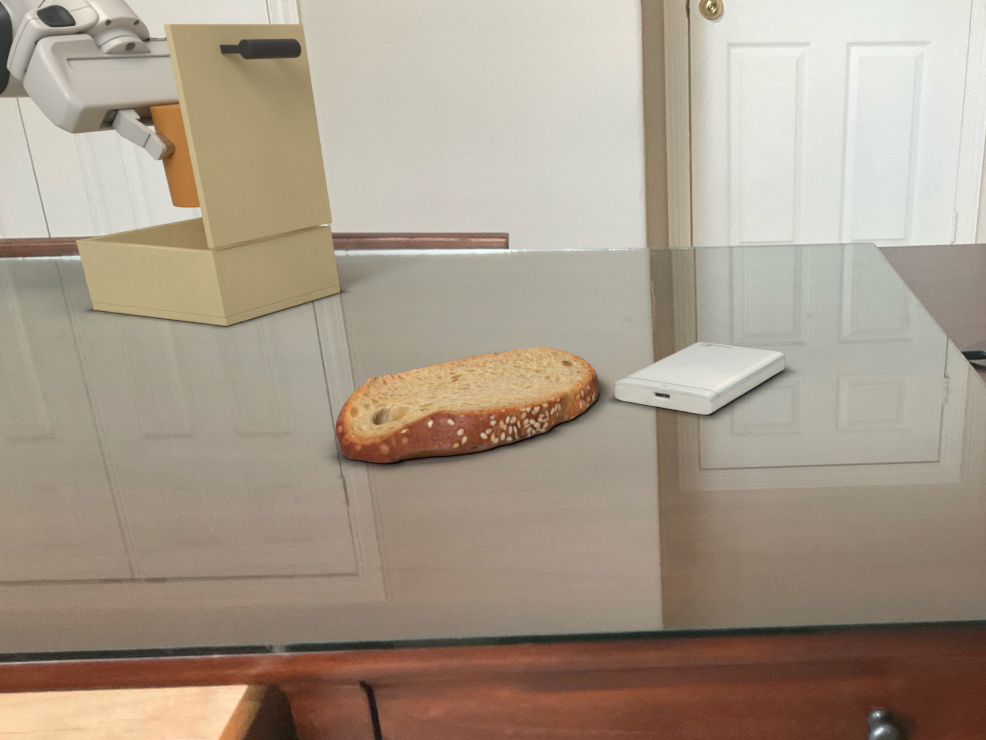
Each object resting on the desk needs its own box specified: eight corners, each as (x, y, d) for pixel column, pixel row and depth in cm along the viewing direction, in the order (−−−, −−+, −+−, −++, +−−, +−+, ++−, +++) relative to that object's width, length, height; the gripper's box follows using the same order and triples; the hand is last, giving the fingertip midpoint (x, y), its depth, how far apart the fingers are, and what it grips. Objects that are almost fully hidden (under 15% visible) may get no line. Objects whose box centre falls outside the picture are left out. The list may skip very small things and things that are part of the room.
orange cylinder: (178, 209, 103) (154, 108, 99) (168, 202, 108) (145, 105, 103) (239, 203, 106) (219, 105, 102) (227, 196, 110) (207, 101, 106)
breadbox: (93, 310, 107) (75, 240, 105) (215, 279, 120) (203, 216, 118) (226, 326, 101) (211, 252, 98) (340, 292, 114) (330, 226, 111)
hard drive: (696, 340, 90) (613, 378, 80) (785, 352, 86) (711, 393, 76) (696, 359, 90) (614, 400, 80) (785, 372, 87) (711, 416, 77)
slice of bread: (595, 372, 87) (592, 326, 85) (613, 450, 71) (610, 395, 69) (363, 386, 84) (356, 338, 82) (328, 469, 68) (318, 412, 66)
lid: (163, 23, 90) (203, 23, 89) (297, 24, 103) (334, 24, 102) (207, 247, 98) (245, 251, 97) (327, 222, 111) (362, 225, 110)
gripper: (173, 61, 114) (262, 162, 115) (-12, 69, 97) (94, 187, 98) (196, 14, 110) (287, 119, 111) (8, 13, 94) (117, 136, 94)
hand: (195, 151), depth 104 cm, fingers closed on orange cylinder, 5 cm apart
